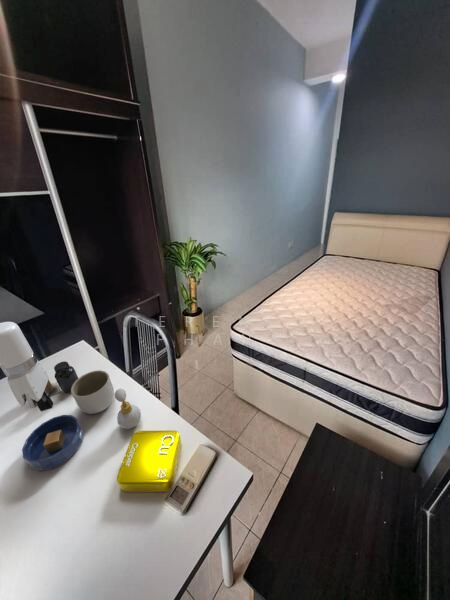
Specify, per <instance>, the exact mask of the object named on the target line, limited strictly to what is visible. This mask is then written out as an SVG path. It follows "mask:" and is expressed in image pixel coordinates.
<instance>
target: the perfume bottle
mask: <svg viewBox="0 0 450 600" xmlns="http://www.w3.org/2000/svg"><path fill="white" fill-rule="evenodd" d="M114 399H115V400H116V401H117V402H119V403H121V405H120V410H119V412H118V413H117V417H116V420H117V424H118V425H119V427H121V428H122V429H125V430H130V429H133V428H135V427H136V426H137V425H138V424H139V423H140V421H141V417H142V413H141V412H142V411H141V410H140V408H139V407H138V406H137V405H135V404H131V403H130V402H129V401H126V399H127V392H126V390H125V389H124V388H118V389H116V390H115V391H114Z"/></svg>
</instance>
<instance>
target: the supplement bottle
mask: <svg viewBox="0 0 450 600" xmlns="http://www.w3.org/2000/svg"><path fill="white" fill-rule="evenodd" d="M53 370H54V379H55V382H57V383H58V384H59V386H60V391H61V392H62V393H63V394H72V393H71V387H72V385H73V384H74V382H75V381H76V380H77V379H78V378H79V376H78V374H77V371H76V369H75V368H74V367H73V366H72V365H70V364H69V362H68V361H60V362H58V363H57V364H55V365H54V366H53Z"/></svg>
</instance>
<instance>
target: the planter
mask: <svg viewBox="0 0 450 600" xmlns="http://www.w3.org/2000/svg"><path fill="white" fill-rule="evenodd" d="M70 394H71V395H72V397H73V399H74V401H75V403H76V404H77V407H78V408H79V410H81V411H82V412H83V413H85V414H89V415H93V414H94V415H95V414H99V413H101V412H103V411H105V410H106V409H108V407H109V406H110V405H111V404H112V403H113V400H114V399H115V390H114V386H113V383H112V380H111V378H110V375H109V373H108V372H107V371H105V370H92V371H88V372H87V373H84V374H82V375H81V376H79V377H78V379H77V380H76V381H75V382H74V384H73V385H72V387H71V393H70Z"/></svg>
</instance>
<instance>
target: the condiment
mask: <svg viewBox="0 0 450 600" xmlns="http://www.w3.org/2000/svg"><path fill="white" fill-rule="evenodd" d="M46 389H47V391H48V395H47V396H49V397H52V396H54V395H56V394H58V393H60V392H61V388H60V386H59V384H58V383H57V381H55V382H53V383H52V382H51V381H50V379H49V378H48V382H47V385H46Z"/></svg>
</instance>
